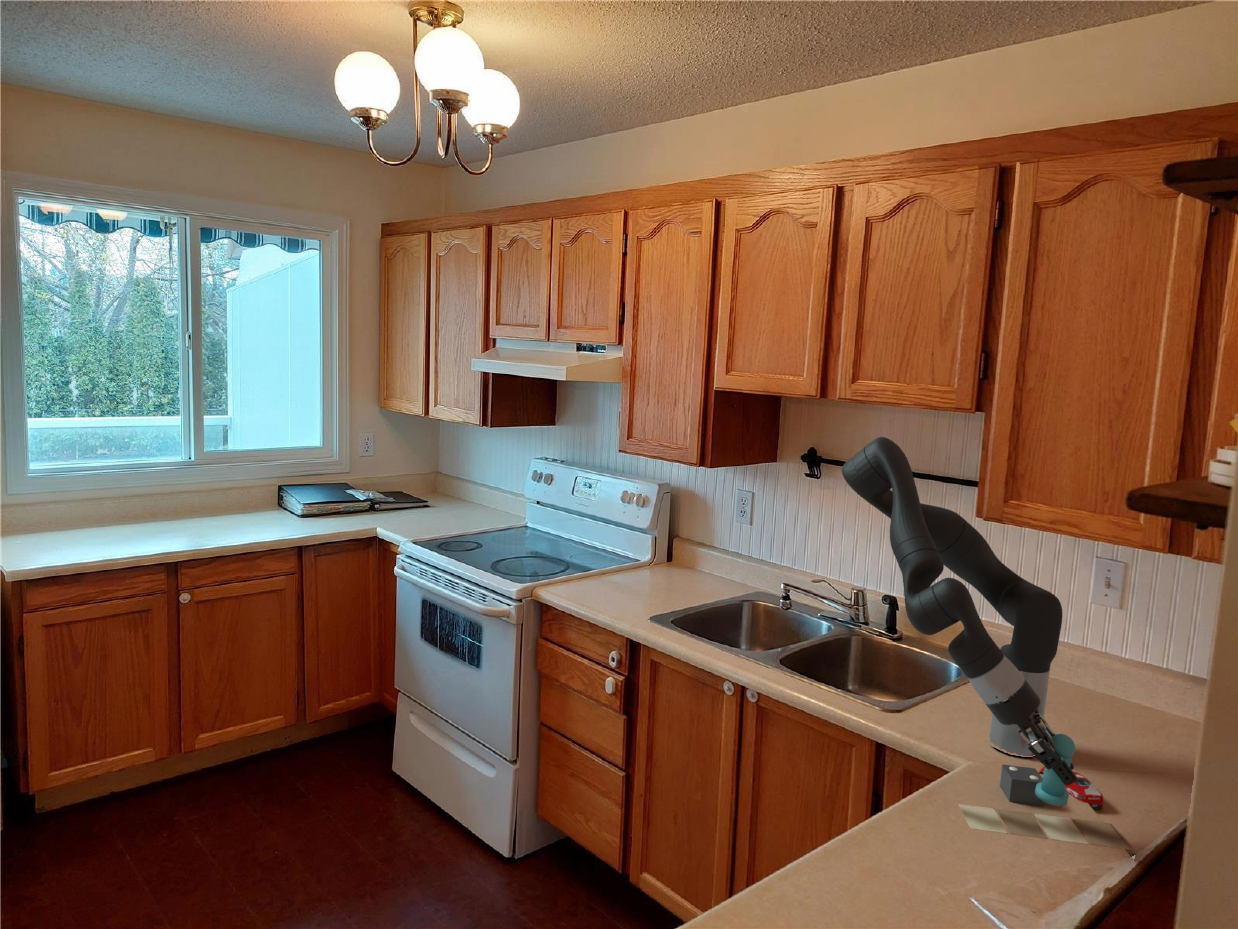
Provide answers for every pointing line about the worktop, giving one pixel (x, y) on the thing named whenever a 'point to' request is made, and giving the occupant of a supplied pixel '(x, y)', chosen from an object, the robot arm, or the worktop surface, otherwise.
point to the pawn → (1051, 784)
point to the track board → (1044, 827)
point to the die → (1020, 784)
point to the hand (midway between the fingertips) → (1070, 775)
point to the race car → (1084, 791)
